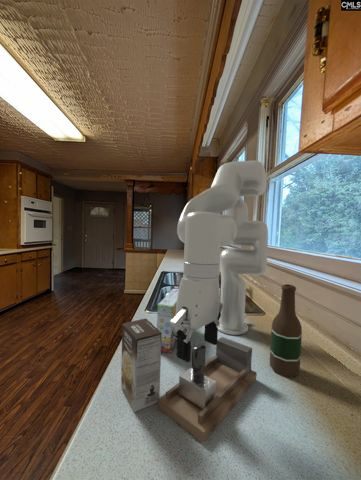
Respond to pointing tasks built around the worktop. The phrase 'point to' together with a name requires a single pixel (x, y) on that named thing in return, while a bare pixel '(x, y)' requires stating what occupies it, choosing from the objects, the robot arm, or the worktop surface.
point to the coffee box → (141, 363)
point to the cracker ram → (197, 379)
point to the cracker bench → (227, 390)
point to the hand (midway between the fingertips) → (197, 350)
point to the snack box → (167, 320)
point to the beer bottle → (286, 336)
